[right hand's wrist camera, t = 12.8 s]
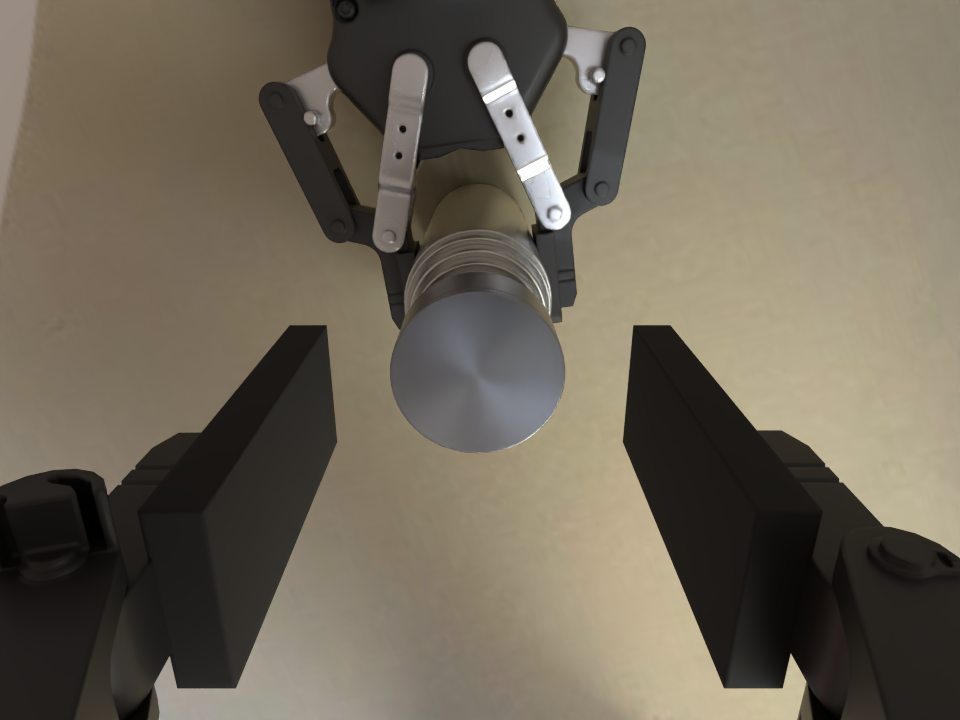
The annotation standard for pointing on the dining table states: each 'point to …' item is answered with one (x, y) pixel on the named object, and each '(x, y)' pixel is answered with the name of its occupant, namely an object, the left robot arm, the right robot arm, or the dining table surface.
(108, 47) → the dining table surface
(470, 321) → the cap
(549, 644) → the dining table surface
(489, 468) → the dining table surface
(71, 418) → the dining table surface
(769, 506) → the right robot arm
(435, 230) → the bottle
